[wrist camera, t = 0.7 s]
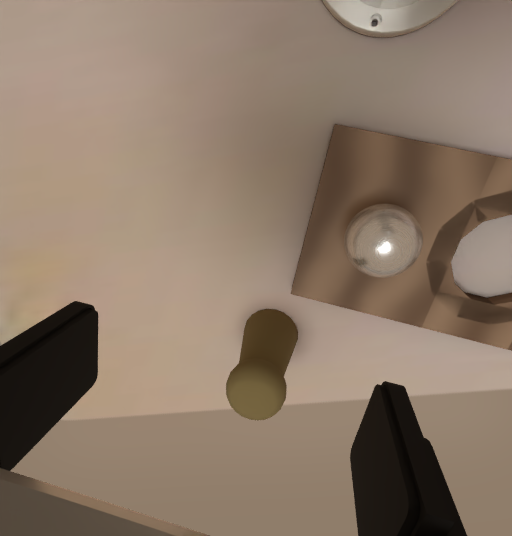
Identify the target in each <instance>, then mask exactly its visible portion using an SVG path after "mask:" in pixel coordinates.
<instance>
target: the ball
mask: <svg viewBox="0 0 512 536" xmlns="http://www.w3.org/2000/svg"><path fill="white" fill-rule="evenodd" d="M422 245H423V234H422V230H421V227H420V225H419V223H418V221H417V220H416V218H415V217H414V216H413V215H412V214H411V213H410V212H409V211H407V210H406V209H404V208H402V207H399V206H396V205H393V204H377V205H373V206H370V207H367V208H365V209H363V210H362V211H360V212H359V213H358V214H357V215H355V216H354V218H353V219H352V220H351V221H350V223H349V225H348V226H347V229H346V231H345V236H344V248H345V252H346V255H347V257H348V259H349V260H350V262H351V263H352V264H353V266H354V267H355V268H357V269H358V270H359V271H361V272H362V273H364V274H366V275H369V276H373V277H379V278H387V277H392V276H396V275H398V274H401V273H403V272H404V271H406V270H407V269H409V268H410V267H411V266H412V265H413V264H414V263H415V261H416V260H417V258H418V257H419V255H420V252H421V249H422Z"/></svg>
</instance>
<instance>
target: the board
mask: <svg viewBox="0 0 512 536" xmlns="http://www.w3.org/2000/svg"><path fill="white" fill-rule="evenodd" d="M377 204H393V205H396V206H399V207H402V208H404V209H406V210H407V211H409V212H410V213H411V214H412V215H413V216H414V217H415V218H416V220H417V221H418V223H419V225H420V227H421V230H422V234H423V245H422V249H421V252H420V255H419V257H418V258H417V260H416V261H415V263H414V264H413V265H412V266H411V267H410V268H409V269H407V270H406V271H404V272H403V273H401V274H398V275H396V276H392V277H387V278H379V277H373V276H369V275H366V274H364V273H362V272H361V271H359V270H358V269H357V268H355V267H354V266H353V264H352V263H351V262H350V260H349V259H348V257H347V255H346V252H345V248H344V236H345V231H346V229H347V226H348V225H349V223H350V221H351V220H352V219H353V218H354V216H355V215H357V214H358V213H359V212H360V211H362V210H363V209H365V208H367V207H370V206H373V205H377ZM511 214H512V160H510V159H506V158H501V157H496V156H491V155H486V154H481V153H476V152H471V151H466V150H461V149H456V148H451V147H446V146H441V145H436V144H431V143H426V142H421V141H416V140H411V139H406V138H401V137H396V136H391V135H386V134H382V133H377V132H372V131H367V130H362V129H357V128H352V127H347V126H342V125H337V124H335V125H334V129H333V132H332V136H331V140H330V144H329V148H328V152H327V156H326V159H325V163H324V167H323V171H322V175H321V179H320V182H319V186H318V190H317V194H316V198H315V202H314V205H313V209H312V213H311V217H310V221H309V225H308V229H307V232H306V236H305V240H304V244H303V248H302V252H301V255H300V259H299V263H298V267H297V271H296V275H295V278H294V282H293V286H292V291H291V294H293V295H297V296H301V297H305V298H309V299H313V300H317V301H321V302H324V303H328V304H332V305H336V306H340V307H344V308H348V309H352V310H356V311H360V312H363V313H367V314H371V315H375V316H379V317H383V318H387V319H391V320H395V321H399V322H402V323H406V324H410V325H414V326H418V327H422V328H426V329H430V330H434V331H437V332H441V333H445V334H449V335H453V336H457V337H461V338H465V339H469V340H473V341H476V342H480V343H484V344H488V345H492V346H496V347H500V348H504V349H508V350H512V293H509V294H504V295H499V296H494V297H489V298H485V297H481V296H477V295H473V294H469V293H465V292H463V291H462V290H461V289H460V288H459V287H458V286H457V285H456V284H455V283H454V278H453V272H452V266H451V260H452V258H453V256H454V253H455V251H456V249H457V247H458V244H459V242H460V240H461V239H462V238H463V237H464V236H466V235H467V234H468V233H469V232H471V231H472V230H473V229H474V228H476V227H477V226H478V225H479V224H481V223H482V222H483V221H487V220H491V219H495V218H499V217H503V216H507V215H511Z"/></svg>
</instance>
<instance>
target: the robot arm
mask: <svg viewBox="0 0 512 536" xmlns="http://www.w3.org/2000/svg"><path fill="white" fill-rule="evenodd" d="M322 1H323V3H324V5H325V6H326V7H327V8H328V10H329V11H330V12H331V14H332V15H333V16H334V17H335V18H336V19H337V20H338V21H340V22H341V23H342V24H343V25H344V26H346V27H347V28H349V29H351V30H353V31H355V32H358V33H360V34H364V35H368V36H372V37H394V36H399V35H403V34H408V33H410V32H412V31H415V30H417V29H420V28H422V27H424V26H426V25H427V24H429V23H431V22H432V21H434V20H435V19H437V18H438V17H440V16H441V15H442V14H443V13H444V12H446V11H447V10H448V9H449V8H450V7H451V6H452V5H454V4H455V3H456V2H457V1H458V0H322ZM372 21H376V22H377V23H378V24H377V26H376V27H372V25H371V22H372ZM97 374H98V312H97V311H95V308H94V306H92V305H90V304H86V303H82V302H78V301H74V302H72V303H70V304H69V305H67V306H66V307H64V308H62V309H61V310H59V311H57V312H56V313H54V314H52V315H51V316H49V317H47V318H46V319H44V320H42V321H41V322H39V323H38V324H36V325H34V326H33V327H31V328H29V329H28V330H26V331H24V332H23V333H21V334H19V335H18V336H16V337H14V338H13V339H11V340H9V341H8V342H6V343H5V344H3V345H1V346H0V536H209V535H206V534H203V533H200V532H197V531H194V530H190V529H188V528H185V527H182V526H178V525H176V524H173V523H169V522H166V521H163V520H160V519H157V518H154V517H151V516H148V515H145V514H142V513H139V512H136V511H133V510H130V509H126V508H123V507H120V506H117V505H114V504H111V503H108V502H105V501H102V500H99V499H95V498H93V497H89V496H86V495H83V494H80V493H77V492H74V491H71V490H68V489H64V488H61V487H58V486H55V485H51V484H48V483H46V482H42V481H39V480H36V479H33V478H30V477H26V476H23V475H20V474H17V473H14V472H11V471H10V470H11V469H12V468H14V467H15V465H16V464H17V463H18V462H19V461H20V460H21V459H22V458H23V457H24V456H25V455H26V454H27V453H28V452H29V451H30V450H31V449H32V448H33V447H34V446H35V445H36V444H37V443H38V442H39V441H40V440H41V439H42V438H43V437H44V436H45V435H46V433H47V432H48V431H49V430H50V429H51V428H52V427H53V426H54V425H55V424H56V423H57V422H58V421H59V420H60V419H61V418H62V417H63V416H64V415H65V414H66V413H67V412H68V411H69V410H70V409H71V408H72V407H73V406H74V405H75V404H76V403H77V402H78V400H79V399H80V398H81V397H82V396H83V395H84V394H85V393H86V392H87V391H88V390H89V389H90V388H91V387H92V386H93V385H94V383H95V381H96V379H97ZM350 461H351V471H352V480H353V489H354V498H355V508H356V518H357V527H358V536H467V535H466V532H465V529H464V527H463V524H462V522H461V519H460V516H459V514H458V512H457V509H456V506H455V504H454V501H453V499H452V496H451V493H450V491H449V488H448V486H447V483H446V481H445V478H444V475H443V473H442V470H441V468H440V465H439V463H438V460H437V457H436V455H435V453H434V450H433V447H432V445H431V443H430V441H429V440H427V439H426V438H424V437H423V435H422V432H421V429H420V427H419V424H418V421H417V419H416V416H415V413H414V411H413V408H412V405H411V402H410V400H409V397H408V394H407V392H406V389H405V387H404V386H401V385H397V384H394V383H390V382H386V381H385V382H383V383H382V385H378V384H377V385H376V386H375V388H374V391H373V393H372V396H371V398H370V401H369V404H368V407H367V409H366V411H365V414H364V417H363V419H362V422H361V424H360V428H359V430H358V432H357V435H356V437H355V440H354V443H353V445H352V448H351V455H350Z"/></svg>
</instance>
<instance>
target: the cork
mask: <svg viewBox="0 0 512 536" xmlns="http://www.w3.org/2000/svg"><path fill="white" fill-rule="evenodd" d="M297 340H298V331H297V328H296V325H295V323H294V322H293V320H292V319H291V318H290V317H289V316H287V315H286V314H285V313H283V312H280V311H278V310H273V309H265V310H260V311H258V312H256V313H254V314H252V315H251V317H250V318H249V319H248V320H247V323H246V325H245V329H244V336H243V342H242V348H241V354H240V360H239V364H238V365H237V366H236V367H235V368H234V369H233V370H232V371H231V373H230V375H229V378H228V380H227V383H226V395H227V398H228V400H229V403H230V405H231V407H232V408H233V409H234V410H235V411H236V412H237V413H238V414H240V415H241V416H243V417H245V418H248V419H251V420H265V419H267V418H270V417H272V416H273V415H275V414H276V413H277V412H278V411H279V410H280V409H281V407H282V405H283V403H284V401H285V399H286V382H285V379H284V374H285V372H286V369H287V366H288V364H289V361H290V358H291V356H292V353H293V350H294V348H295V345H296V342H297Z"/></svg>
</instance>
